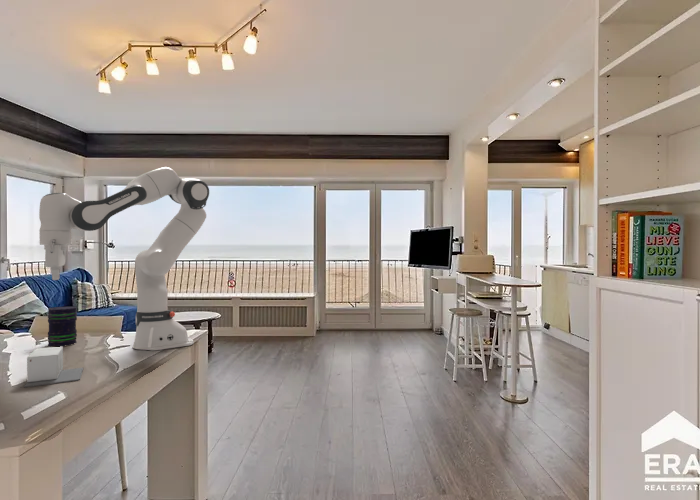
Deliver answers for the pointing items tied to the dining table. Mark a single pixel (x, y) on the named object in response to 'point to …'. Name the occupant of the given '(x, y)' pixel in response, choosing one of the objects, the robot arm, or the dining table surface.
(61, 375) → the mat
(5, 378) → the dining table surface
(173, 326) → the robot arm
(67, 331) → the storage jar
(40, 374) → the supplement box
